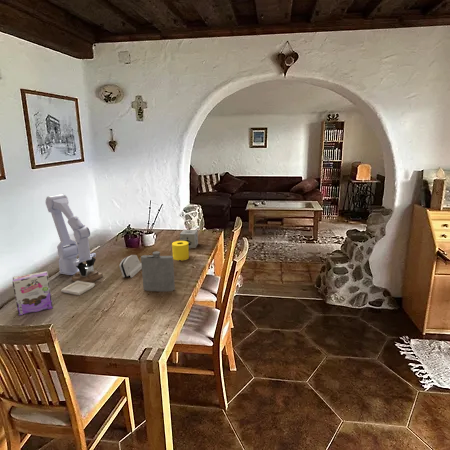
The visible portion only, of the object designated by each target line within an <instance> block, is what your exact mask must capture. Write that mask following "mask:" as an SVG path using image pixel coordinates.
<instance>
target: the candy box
mask: <svg viewBox="0 0 450 450" xmlns="http://www.w3.org/2000/svg"><path fill="white" fill-rule="evenodd" d="M12 287H13V291H14V292H13V293H14V299H15V304H16V305H15V306H16V310H17V315H18V316H23V314H24V315H28V314H32V313H36V312H42V311H47V310H52V309H53V300H52V293H51V286H50V280H49V273H48V271H42V272H35V273H29V274H25V275H24V274H23V275H17V276H12Z"/></svg>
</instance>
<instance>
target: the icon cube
mask: <svg viewBox="0 0 450 450" xmlns="http://www.w3.org/2000/svg"><path fill="white" fill-rule="evenodd" d="M198 233H199V232H198V230H197V229H183V230H182V231H181V232H180V233H179V241H187V242H188V246H189V249H191V248H195V249H196V248H197V247H198V244H199V238H198V237H199V235H198Z"/></svg>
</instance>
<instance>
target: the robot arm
mask: <svg viewBox="0 0 450 450" xmlns="http://www.w3.org/2000/svg"><path fill="white" fill-rule="evenodd" d="M45 206H46V208H47V211H48V213H50V214H51V216H52V219H53V223H54V227H55V229H56V231H57V235H58V239H59V241H60V242H59V244H58V245H57V246H56V248H57V255H58V257H59V259H58V267H59V268H58V269H59V271H58V274H60V275H61V274H63V275H67V276H74V275H75V273H77V272H79V271H80V273H81V276H85V266H86V264H88V265H93V266H94V264H95V262H96V257H97V254H96V252H92V253H91V250H90V241H89V238H90V236H91V231H90V229H89V227H88V226H86V225H85V224H83V223H82V221H81V219H79V217H78V216H77V215H74V212H73V211H72V209H71V207H70V205H69V198H68V196H67V195H66V194H65V193H62V194H57V195H51V196H46V198H45ZM63 215H64V216H65V217H66V219H67V223H68V225H69V227H70V228H71V230H72V231H73V237H74V239H75V240H72V239H71V237H70V234H69V231H68V228H67V224H66V223H65V219H64V216H63ZM77 257H78V258H77ZM84 262H85V263H86V264H85V263H84Z"/></svg>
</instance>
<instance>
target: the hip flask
mask: <svg viewBox="0 0 450 450" xmlns="http://www.w3.org/2000/svg"><path fill="white" fill-rule="evenodd" d="M160 254H161V252H160V251H157V250H156V251H153V252H152V255H150V254H149V255H146V254H144V255H141V256H140V263H141V264H142V269H141V271H142V272H141V275H142V285H143V288H142V289H143V291H146V292H174V291H175V290H176V288H175V285H176V284H175V268H174V267H175V266H174V259H173V255H160ZM173 290H174V291H173Z"/></svg>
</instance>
